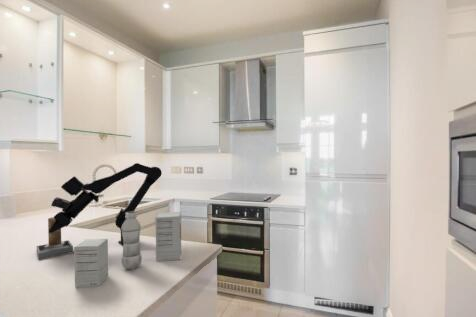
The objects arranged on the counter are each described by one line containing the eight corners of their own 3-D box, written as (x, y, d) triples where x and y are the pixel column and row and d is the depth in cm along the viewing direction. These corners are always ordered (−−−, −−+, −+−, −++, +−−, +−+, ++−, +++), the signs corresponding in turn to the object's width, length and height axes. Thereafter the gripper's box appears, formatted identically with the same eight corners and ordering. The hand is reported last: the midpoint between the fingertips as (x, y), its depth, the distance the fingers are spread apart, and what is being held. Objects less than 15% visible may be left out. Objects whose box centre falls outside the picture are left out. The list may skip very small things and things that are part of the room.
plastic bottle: (134, 272, 88) (134, 214, 88) (117, 270, 90) (116, 213, 90) (145, 264, 95) (144, 210, 95) (128, 263, 96) (128, 210, 96)
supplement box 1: (86, 276, 85) (85, 239, 85) (109, 275, 86) (108, 238, 86) (73, 287, 78) (73, 246, 78) (99, 286, 79) (98, 245, 79)
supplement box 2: (180, 260, 99) (179, 216, 99) (155, 261, 97) (155, 217, 97) (181, 251, 108) (181, 211, 108) (159, 252, 107) (158, 212, 107)
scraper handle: (65, 242, 113) (64, 215, 113) (61, 247, 108) (61, 218, 108) (48, 245, 111) (48, 217, 111) (44, 249, 105) (43, 220, 105)
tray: (73, 252, 109) (73, 246, 109) (38, 259, 101) (38, 253, 101) (68, 245, 117) (68, 240, 117) (36, 251, 110) (36, 246, 110)
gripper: (69, 188, 119) (41, 214, 115) (59, 193, 102) (25, 224, 98) (89, 204, 122) (62, 230, 118) (82, 211, 105) (50, 241, 101)
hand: (50, 231), depth 109 cm, fingers closed on scraper handle, 4 cm apart
